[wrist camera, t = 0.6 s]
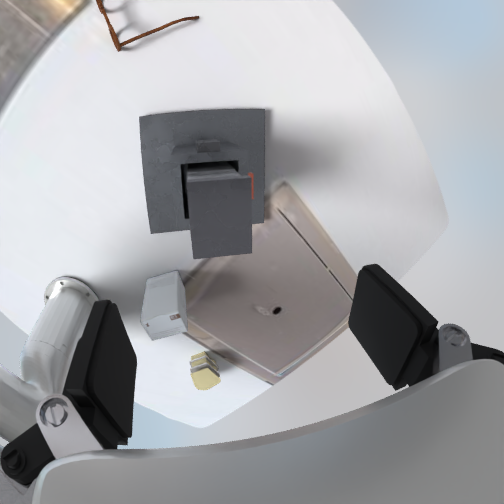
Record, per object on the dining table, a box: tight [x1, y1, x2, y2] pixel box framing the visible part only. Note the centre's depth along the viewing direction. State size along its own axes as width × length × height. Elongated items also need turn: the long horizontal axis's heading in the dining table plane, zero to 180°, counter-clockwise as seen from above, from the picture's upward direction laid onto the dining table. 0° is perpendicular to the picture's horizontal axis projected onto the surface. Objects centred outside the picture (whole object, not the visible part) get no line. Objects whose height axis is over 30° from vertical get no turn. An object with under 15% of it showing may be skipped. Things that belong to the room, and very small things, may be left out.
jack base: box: [139, 109, 265, 234], centre depth 35 cm, size 18×18×14 cm
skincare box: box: [140, 270, 188, 340], centre depth 42 cm, size 6×4×12 cm
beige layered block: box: [190, 352, 221, 390], centre depth 56 cm, size 10×9×6 cm
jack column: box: [187, 161, 252, 259], centre depth 30 cm, size 6×5×21 cm
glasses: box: [96, 0, 199, 52], centre depth 24 cm, size 13×13×5 cm
